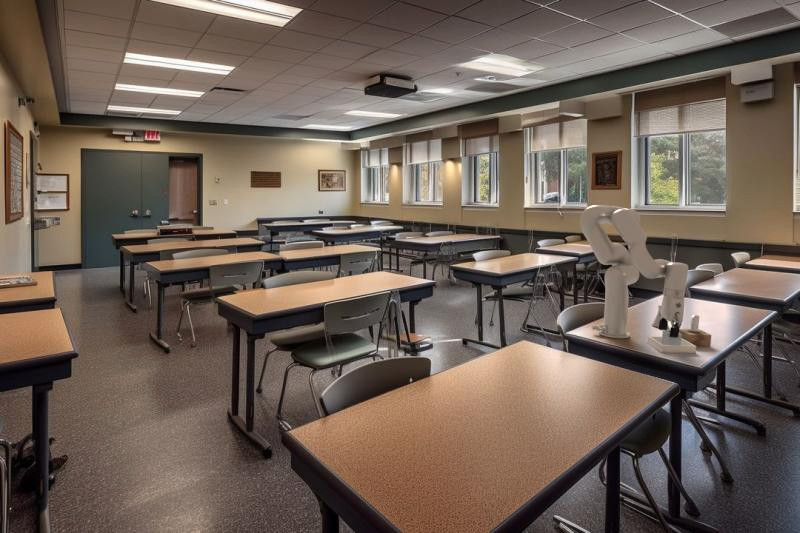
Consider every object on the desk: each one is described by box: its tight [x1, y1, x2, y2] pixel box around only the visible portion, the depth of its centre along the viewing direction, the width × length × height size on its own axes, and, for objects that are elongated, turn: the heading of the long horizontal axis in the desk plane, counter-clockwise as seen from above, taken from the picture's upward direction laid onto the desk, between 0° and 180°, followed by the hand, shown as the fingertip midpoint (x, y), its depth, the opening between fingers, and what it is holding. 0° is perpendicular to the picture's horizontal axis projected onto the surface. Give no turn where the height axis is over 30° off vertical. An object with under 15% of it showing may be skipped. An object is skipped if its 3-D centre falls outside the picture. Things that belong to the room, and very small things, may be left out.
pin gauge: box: [689, 314, 700, 333], centre depth 204 cm, size 3×3×12 cm
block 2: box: [679, 328, 712, 348], centre depth 204 cm, size 9×9×5 cm
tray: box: [646, 335, 697, 355], centre depth 197 cm, size 13×13×3 cm
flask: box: [651, 305, 670, 329], centre depth 231 cm, size 7×7×10 cm
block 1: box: [661, 330, 682, 345], centre depth 197 cm, size 5×5×6 cm
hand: (667, 333), depth 198 cm, fingers open, 9 cm apart
